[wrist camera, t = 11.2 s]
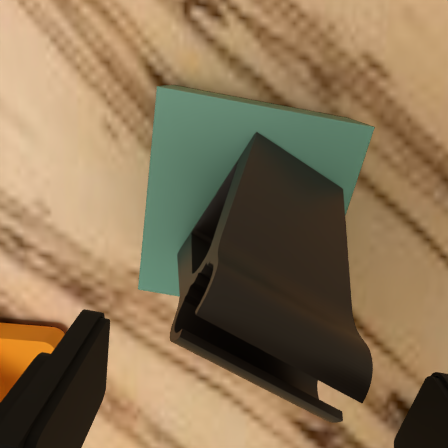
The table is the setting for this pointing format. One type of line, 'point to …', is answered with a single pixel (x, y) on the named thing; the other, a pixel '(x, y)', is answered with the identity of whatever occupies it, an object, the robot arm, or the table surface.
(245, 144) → the green block
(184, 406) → the table surface
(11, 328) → the bracket
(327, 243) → the phone stand
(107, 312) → the table surface
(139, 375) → the table surface
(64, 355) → the robot arm
